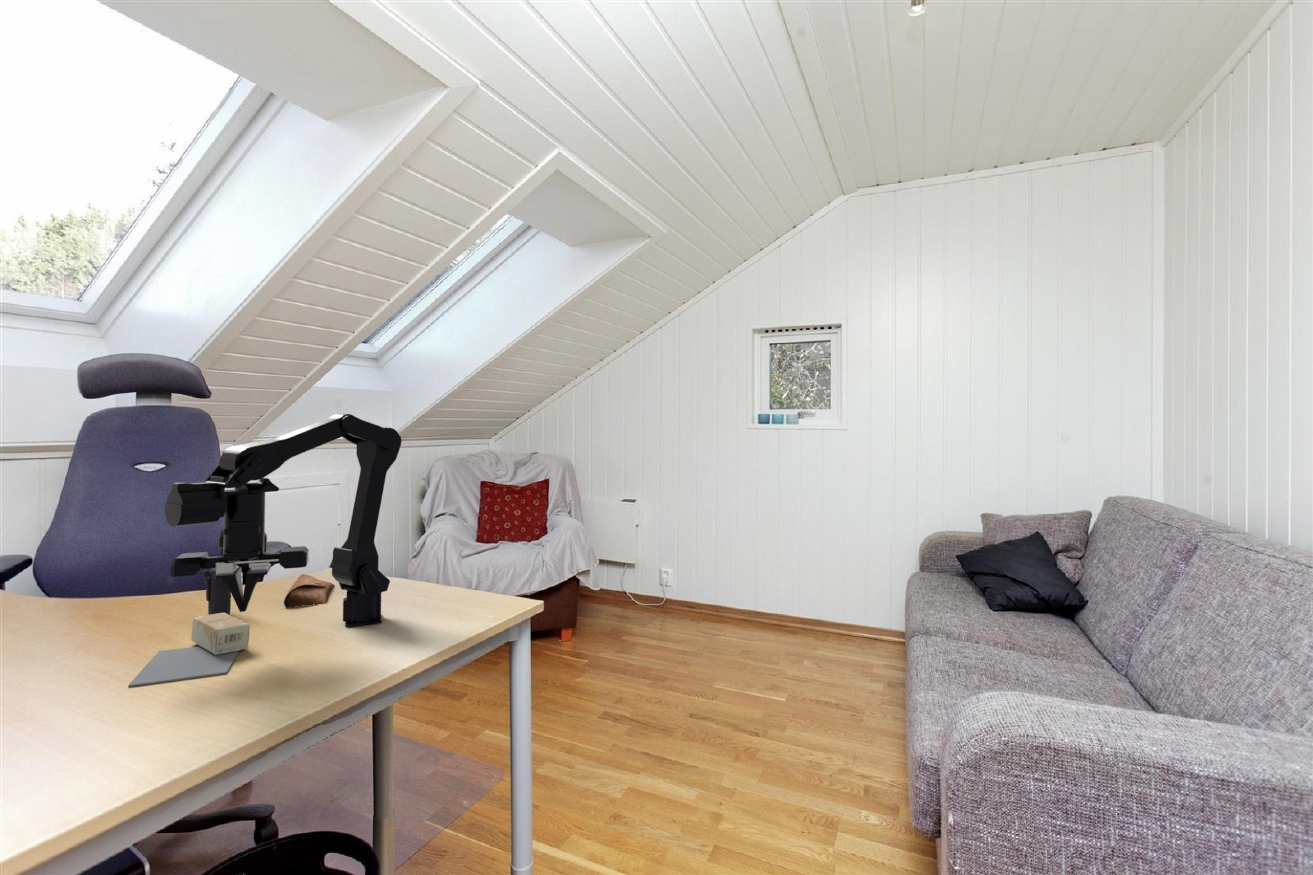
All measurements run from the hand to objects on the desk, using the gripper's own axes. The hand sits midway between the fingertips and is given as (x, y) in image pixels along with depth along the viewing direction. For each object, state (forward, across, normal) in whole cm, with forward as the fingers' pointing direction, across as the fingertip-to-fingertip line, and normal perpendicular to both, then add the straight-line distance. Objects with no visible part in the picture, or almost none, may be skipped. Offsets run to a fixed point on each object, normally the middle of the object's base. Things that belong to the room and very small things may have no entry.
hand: (243, 611), depth 101 cm
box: (+5, +1, -1) cm, 5 cm away
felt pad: (+8, +7, 0) cm, 10 cm away
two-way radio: (+8, +8, -27) cm, 29 cm away
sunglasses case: (+8, -8, -37) cm, 39 cm away
